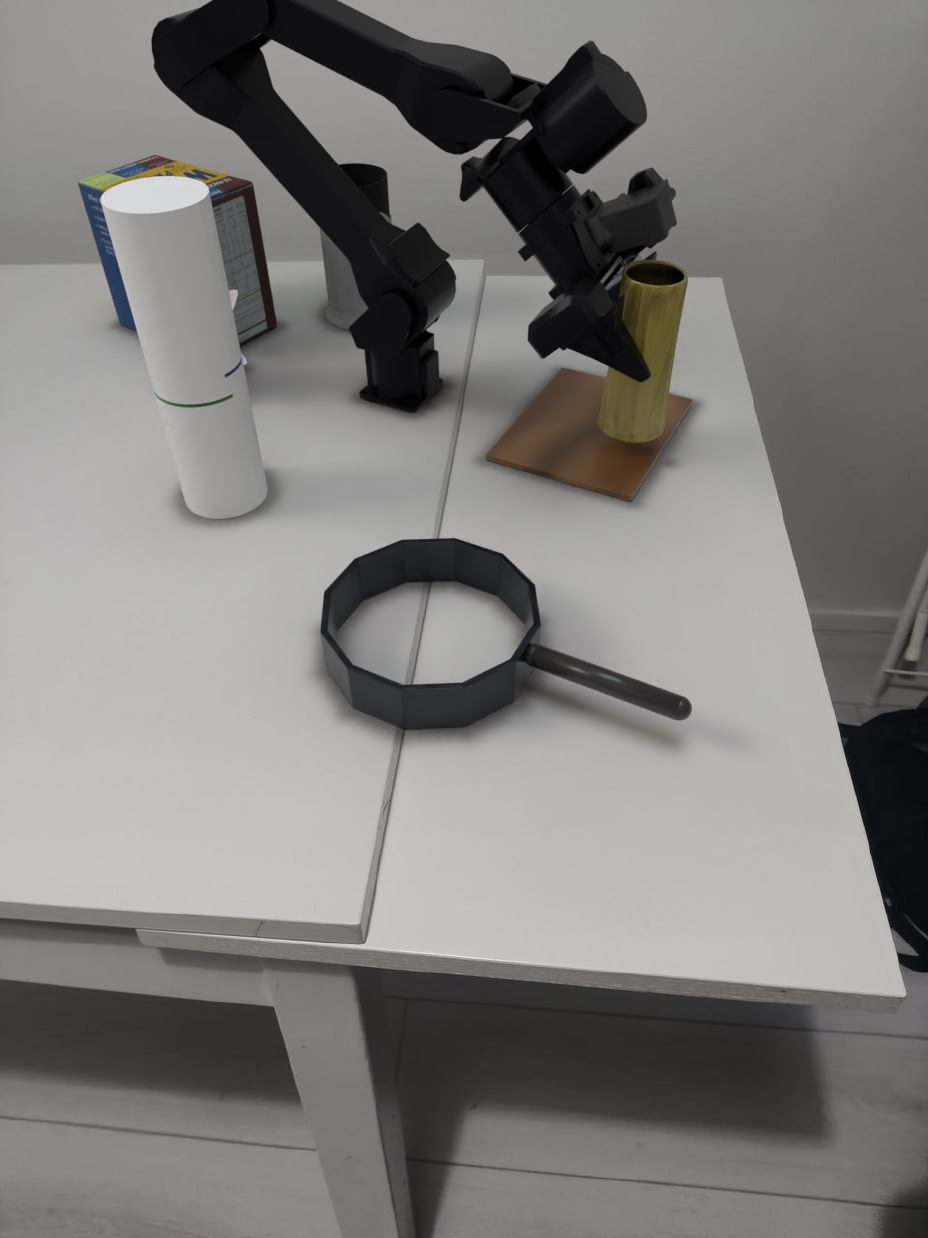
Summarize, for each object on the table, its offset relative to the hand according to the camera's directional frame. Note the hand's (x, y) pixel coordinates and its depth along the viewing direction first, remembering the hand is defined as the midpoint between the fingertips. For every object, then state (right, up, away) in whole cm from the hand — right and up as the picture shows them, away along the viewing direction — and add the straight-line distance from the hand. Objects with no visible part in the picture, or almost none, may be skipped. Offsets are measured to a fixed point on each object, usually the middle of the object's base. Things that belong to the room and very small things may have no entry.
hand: (655, 363), depth 75 cm
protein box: (-47, +11, +24) cm, 54 cm away
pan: (-14, -26, -14) cm, 32 cm away
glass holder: (-29, +15, +28) cm, 43 cm away
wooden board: (-4, -4, +8) cm, 10 cm away
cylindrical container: (-37, -11, +2) cm, 39 cm away
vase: (-1, -4, +5) cm, 7 cm away
